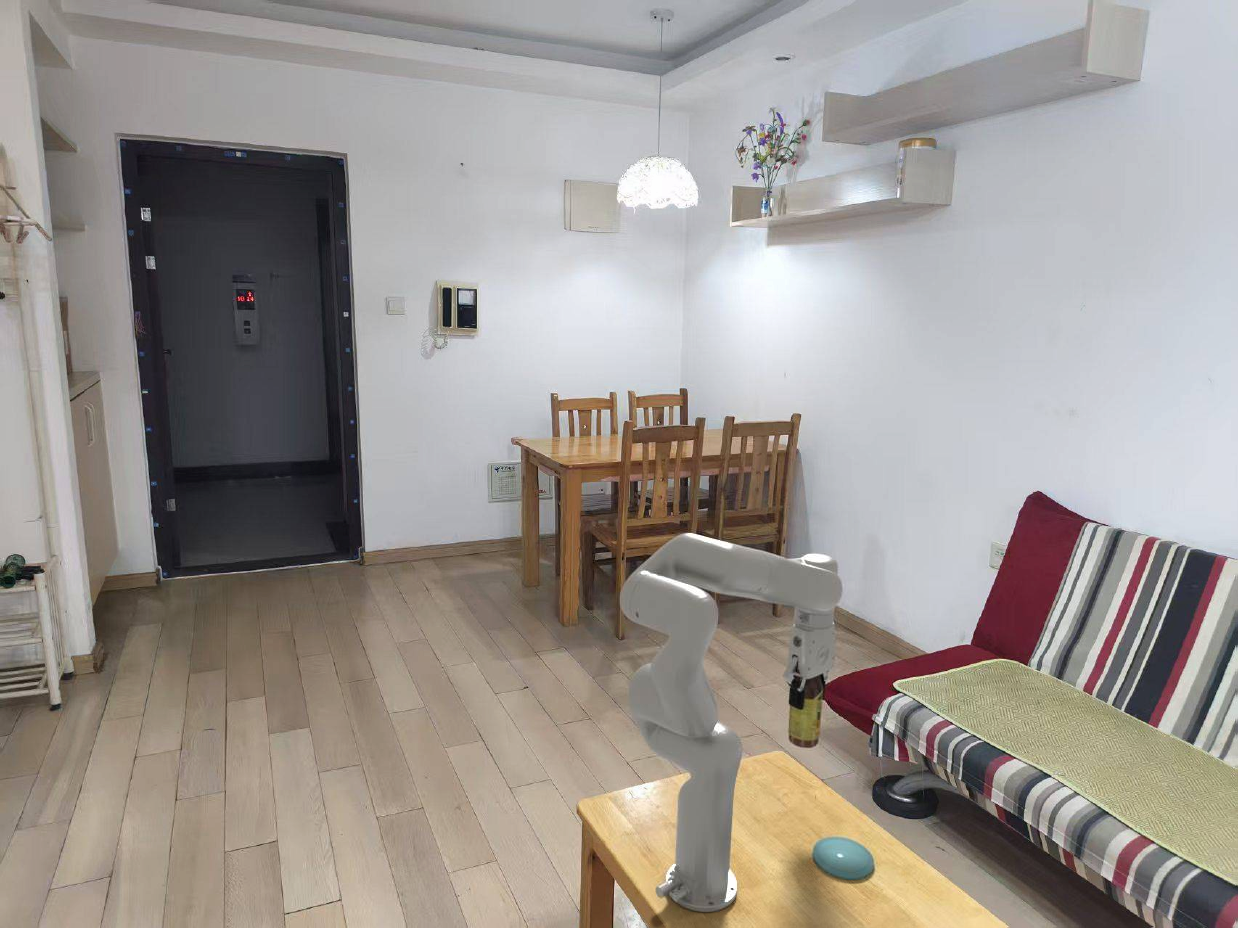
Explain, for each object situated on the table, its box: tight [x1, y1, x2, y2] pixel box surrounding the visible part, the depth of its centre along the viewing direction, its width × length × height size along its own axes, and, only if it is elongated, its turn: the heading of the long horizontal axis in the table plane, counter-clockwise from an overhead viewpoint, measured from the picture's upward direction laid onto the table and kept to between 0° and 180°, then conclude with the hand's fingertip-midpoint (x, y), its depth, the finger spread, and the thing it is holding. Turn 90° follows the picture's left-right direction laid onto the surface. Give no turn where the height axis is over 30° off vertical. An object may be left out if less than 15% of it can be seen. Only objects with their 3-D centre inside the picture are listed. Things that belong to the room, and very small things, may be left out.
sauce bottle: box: [787, 670, 823, 749], centre depth 161 cm, size 7×6×20 cm
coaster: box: [812, 836, 875, 881], centre depth 151 cm, size 11×11×1 cm
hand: (806, 701), depth 162 cm, fingers closed on sauce bottle, 6 cm apart
